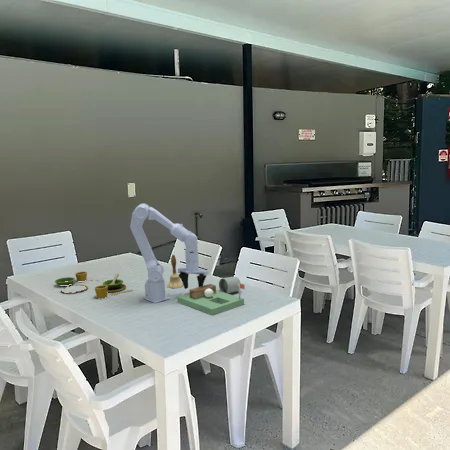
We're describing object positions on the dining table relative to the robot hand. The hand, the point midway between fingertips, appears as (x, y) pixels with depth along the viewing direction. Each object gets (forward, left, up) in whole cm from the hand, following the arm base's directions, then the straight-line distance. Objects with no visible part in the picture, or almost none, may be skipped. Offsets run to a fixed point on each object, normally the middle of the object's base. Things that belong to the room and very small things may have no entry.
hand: (193, 289), depth 202 cm
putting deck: (+12, 0, -4) cm, 12 cm away
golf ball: (+11, 0, +1) cm, 11 cm away
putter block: (+7, 0, -1) cm, 7 cm away
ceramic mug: (+6, +16, -4) cm, 18 cm away
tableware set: (-50, -26, -5) cm, 57 cm away
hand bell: (-21, +5, -4) cm, 22 cm away
